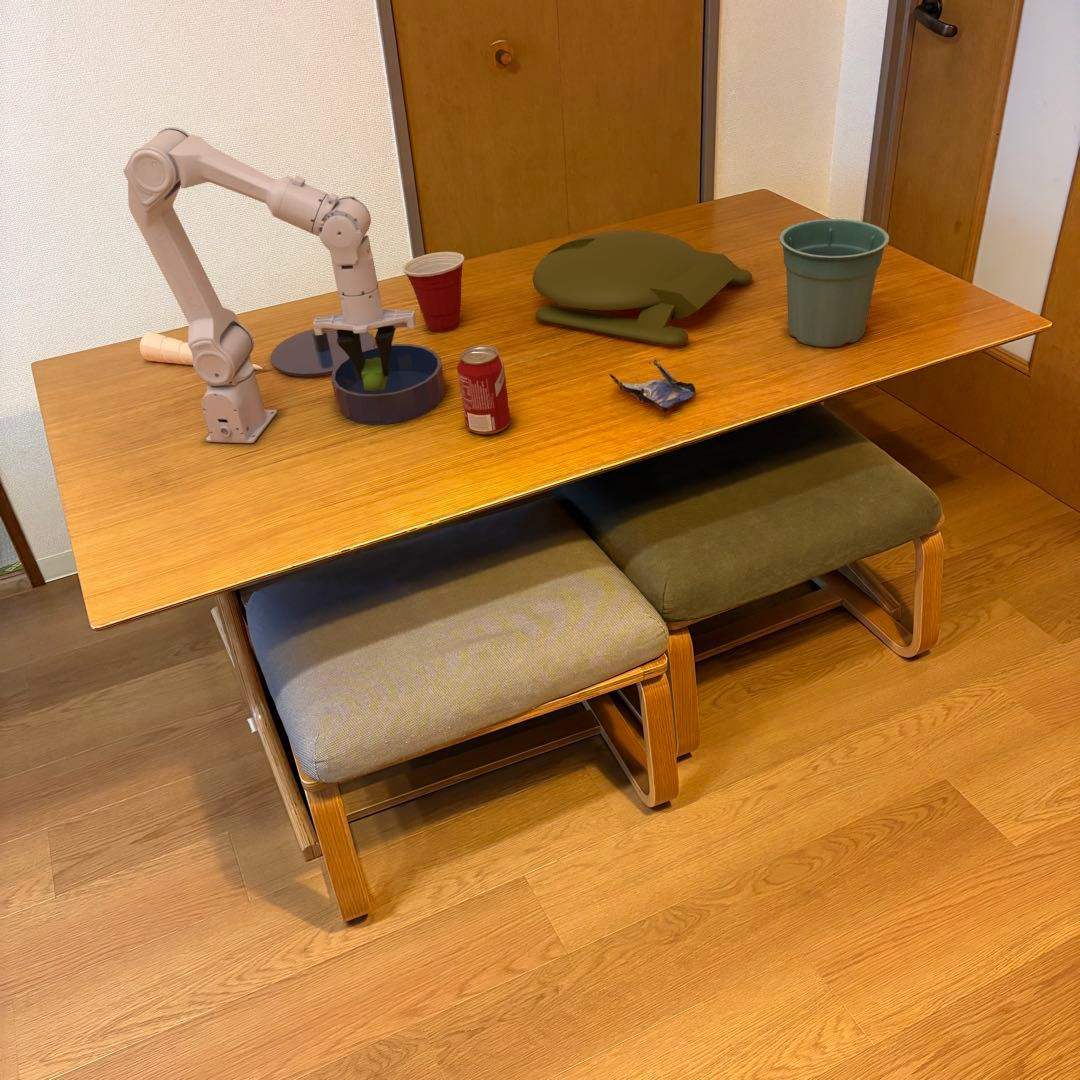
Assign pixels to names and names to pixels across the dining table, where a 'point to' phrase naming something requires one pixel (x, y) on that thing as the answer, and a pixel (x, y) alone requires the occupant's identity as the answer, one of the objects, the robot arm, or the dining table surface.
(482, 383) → the soda can
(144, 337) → the unicorn horn
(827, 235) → the flower pot
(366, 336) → the pan lid
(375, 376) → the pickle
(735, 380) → the dining table surface
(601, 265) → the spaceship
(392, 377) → the pan
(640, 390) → the snack package
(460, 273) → the plastic cup
